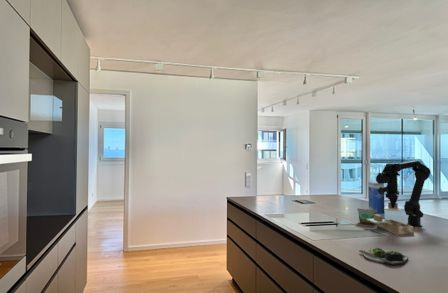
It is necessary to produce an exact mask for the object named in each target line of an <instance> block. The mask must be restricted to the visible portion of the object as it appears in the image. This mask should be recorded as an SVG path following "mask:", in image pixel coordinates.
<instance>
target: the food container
mask: <svg viewBox="0 0 448 293" xmlns="http://www.w3.org/2000/svg"><path fill="white" fill-rule="evenodd" d="M356 210H357V212H358V220H359V223H360V224H362V225H367V226H369V225H370V226H371V225H372V226H373V225H376V223H373V222H370V221H368V220H366V219H374V214H376V213H377V210H376V209H375V210H370V209H369V208H359V207H357V209H356Z"/></svg>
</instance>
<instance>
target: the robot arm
mask: <svg viewBox="0 0 448 293" xmlns="http://www.w3.org/2000/svg"><path fill="white" fill-rule="evenodd" d="M410 168H411V169H412V171H413V172H414V177H415V182H414V185H413V188H412V192H411V195H410V199H409V200H405V202H404V205H403V208H404V213H405V216H407V223H406V224H407V225H410V226H413V227H414V228H415V227H416V228H417V227H423V225H422V223H421V218H423V217H424V213H423V211H421V205H420V202H419V201H420V199H421V195H422V191H423V188H424V185H425V181H427V180H428V179H429V177H430V175H431V173H432V172H431V169H430V168H429V167H427V166H426V165H425V164H423V163H421V162H420V161H419V160H411V161H404V162H400V163H399V162H398V163H395V162H394V163H393V162H392V163H391V162H390V163H389V162H388V163H386V164H385V166H384V168H383V170H382V171H381V172H378V173H377V175H376V177H375V181H377V183H379V184H383V183H384V184H386V186H384V187H383V188H382V187H379V189H377V190H378V192H379V194H381V193H384V194H385V193H386V194H385V198H387V199H388V200H389V203H391V206H392V208H394V206H395V204H396V203H397V202H398V199H399V195H400V191H399V187H398V186H399V184H398V177H399V176H401V174H400V173H399V172H401V171H402V170H406V169H410Z"/></svg>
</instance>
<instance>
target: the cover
mask: <svg viewBox="0 0 448 293" xmlns="http://www.w3.org/2000/svg"><path fill="white" fill-rule="evenodd" d="M384 219H385V218H383V216H380V215H377V214H374V219H366V220H368V221H370V222H373V223H375V224H377V223H390V221H387V220H384Z"/></svg>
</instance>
